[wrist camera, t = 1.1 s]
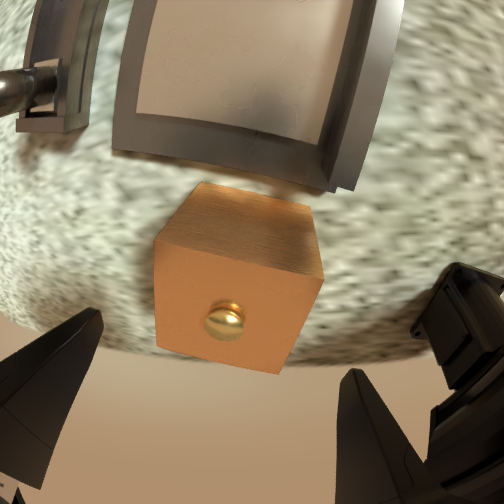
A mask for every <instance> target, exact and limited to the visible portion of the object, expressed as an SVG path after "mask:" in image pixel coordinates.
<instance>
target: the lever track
mask: <svg viewBox="0 0 504 504" xmlns="http://www.w3.org/2000/svg"><path fill="white" fill-rule="evenodd" d="M108 2H109V0H37V2H36V5H35V9H34V13H33V16H32V20H31V25H30V29H29V34H28V39H27V44H26V50H25V56H24V63H23V68H30V67H34V65H35V63H38V62H43V61H47V60H53V59H58V58H63V61H62V67H61V75H60V84H59V94H58V108H57V110H54V111H38V112H30V111H31V109H28V110H24V111H20V112H19V118H17V119H16V132H49V133H65V132H68V131H71V130H74V129H77V128H80V127H83V126H86V125H89V112H90V100H91V90H92V82H93V74H94V67H95V61H96V55H97V49H98V44H99V39H100V34H101V30H102V25H103V21H104V17H105V13H106V9H107V6H108Z"/></svg>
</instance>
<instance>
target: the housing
mask: <svg viewBox="0 0 504 504" xmlns="http://www.w3.org/2000/svg"><path fill="white" fill-rule="evenodd" d="M323 282H324V274H323V269H322V263H321V258H320V252H319V247H318V242H317V237H316V232H315V227H314V222H313V217H312V212H311V208H310V206H307V205H303V204H299V203H295V202H291V201H287V200H283V199H279V198H275V197H270V196H266V195H262V194H258V193H253V192H249V191H244V190H240V189H235V188H231V187H226V186H221V185H216V184H211V183H207V182H201V183H200V184H199V185H198V186H197V187H196V189H195V190H194V191H193V192H192V193H191V195H190V196H189V197H188V198H187V199H186V201H185V202H184V203H183V204H182V206H181V207H180V208H179V209H178V210H177V212H176V213H175V214H174V215H173V217H172V218H171V219H170V220H169V222H168V223H167V224H166V226H165V227H164V228H163V229H162V231H161V232H160V233H159V235H158V236H157V237H156V238H155V240H154V304H155V326H156V342H157V346H158V347H161V348H164V349H168V350H171V351H175V352H178V353H182V354H186V355H190V356H194V357H197V358H201V359H205V360H210V361H214V362H218V363H223V364H227V365H232V366H236V367H241V368H246V369H251V370H257V371H262V372H267V373H274V374H279V372H280V371H281V369H282V367H283V365H284V363H285V361H286V359H287V357H288V355H289V353H290V351H291V349H292V347H293V345H294V343H295V341H296V339H297V337H298V335H299V333H300V331H301V329H302V327H303V325H304V323H305V321H306V319H307V317H308V314H309V312H310V310H311V308H312V306H313V304H314V302H315V299H316V297H317V295H318V293H319V291H320V288H321V286H322V284H323Z"/></svg>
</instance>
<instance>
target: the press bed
mask: <svg viewBox="0 0 504 504" xmlns="http://www.w3.org/2000/svg"><path fill="white" fill-rule="evenodd" d="M403 6H404V0H135V2H134V6H133V9H132V13H131V17H130V21H129V25H128V30H127V34H126V39H125V44H124V49H123V54H122V60H121V66H120V72H119V78H118V85H117V93H116V102H115V111H114V122H113V136H112V149H119V150H127V151H135V152H142V153H150V154H156V155H163V156H169V157H175V158H181V159H187V160H193V161H198V162H204V163H209V164H214V165H219V166H224V167H229V168H234V169H239V170H244V171H248V172H253V173H257V174H261V175H266V176H270V177H274V178H278V179H282V180H286V181H290V182H294V183H298V184H302V185H306V186H310V187H313V188H317V189H321V190H324V191H328V192H331V193H335V192H336V189H337V187H340V188H344V189H347V190H350V191H353V192H354V189H355V186H356V183H357V180H358V177H359V175H360V172H361V169H362V166H363V163H364V160H365V156H366V153H367V150H368V147H369V144H370V141H371V138H372V134H373V131H374V128H375V124H376V121H377V118H378V114H379V111H380V107H381V103H382V100H383V96H384V92H385V89H386V85H387V81H388V77H389V73H390V69H391V65H392V60H393V56H394V52H395V47H396V43H397V38H398V33H399V28H400V23H401V18H402V12H403Z"/></svg>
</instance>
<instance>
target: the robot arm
mask: <svg viewBox="0 0 504 504" xmlns="http://www.w3.org/2000/svg"><path fill="white" fill-rule="evenodd" d="M503 291H504V278H503V277H500V276H497V275H495V274H492V273H489V272H486V271H484V270H481V269H478V268H475V267H472V266H469V265H467V264H464V263H461V262H457V263H455V264H454V265H453V266H452V267H451V269H450V271H449V273H448V274H447V276H446V278H445V279H444V281H443V283H442V284H441V286H440V287H439V289H438V291H437V292H436V294H435V295H434V297H433V298H432V300H431V301H430V303H429V304H428V306H427V307H426V309H425V310H424V312H423V313H422V315H421V316H420V318H419V319H418V320H417V322H416V323H415V325H414V326H413V327H412V329H411V330H410V333H411V336H412V338H415V339H423V340H429V343H430V345H431V348H432V350H433V353H434V355H435V358H436V361H437V363H438V365H439V366H441V368H442V371H443V373H444V376H445V379H446V382H447V385H448V388H449V390H452V389H454V391H455V392H454V393H453V394H452V395H451V396H450V397H448V398H447V399H446V400H445V401H443V402H442V403H441V404H440V405H437V406H435V407H434V408H433V409H432V410H431V416H430V432H429V445H428V454H427V459H426V460H425V461H424V463H423V462H422V460H421V459H420V458H419V456H418V455H417V453H416V451H415V450H414V448H413V447H412V445H411V444H410V443H409V441H408V439H407V437H406V436H405V435H404V433H403V431H402V430H401V428H400V426H399V425H398V423H397V422H396V420H395V419H394V417H393V416H392V414H391V412H390V411H389V409H388V408H387V406H386V405H385V403H384V402H383V400H382V399H381V397H380V396H379V394H378V392H377V391H376V389H375V388H374V386H373V385H372V383H371V382H370V380H369V379H368V377H367V376H366V374H365V373H364V371H363V370H361V369H356V368H352V369H350V370H349V371H348V373H347V374H346V375H345V376H344V378H343V379H342V380H341V382H340V390H339V402H338V412H337V463H336V493H335V504H504V302H503V301H502V299H501V298H500V295H501V294H502V292H503ZM103 329H104V324H103V320H102V315H101V312H100V310H99V309H96V308H93V307H88V308H86V309H85V310H83V311H81V312H80V313H78V314H76V315H75V316H73V317H71V318H70V319H68V320H66V321H65V322H63V323H61V324H60V325H58V326H57V327H55V328H53V329H52V330H50V331H48V332H47V333H45V334H44V335H42V336H40V337H39V338H37V339H36V340H34V341H32V342H31V343H29V344H28V345H26V346H24V347H23V348H21V349H20V350H18V351H17V352H15V353H13V354H12V355H10V356H9V357H7V358H5V359H4V360H3V361H1V362H0V504H25V502H24V499H23V497H22V495H21V493H20V490H19V488H18V484H19V481H20V482H22V483H24V484H27V485H29V486H31V487H34V488H36V489H39V490H40V489H41V486H42V483H43V480H44V477H45V474H46V471H47V468H48V465H49V462H50V459H51V456H52V454H53V450H54V448H55V445H56V443H57V440H58V437H59V435H60V432H61V430H62V427H63V425H64V422H65V420H66V418H67V415H68V413H69V410H70V408H71V406H72V404H73V401H74V399H75V397H76V395H77V392H78V390H79V388H80V386H81V384H82V382H83V379H84V377H85V375H86V373H87V371H88V369H89V366H90V364H91V362H92V359H93V356H94V354H95V351H96V348H97V345H98V343H99V340H100V337H101V335H102V332H103Z"/></svg>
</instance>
